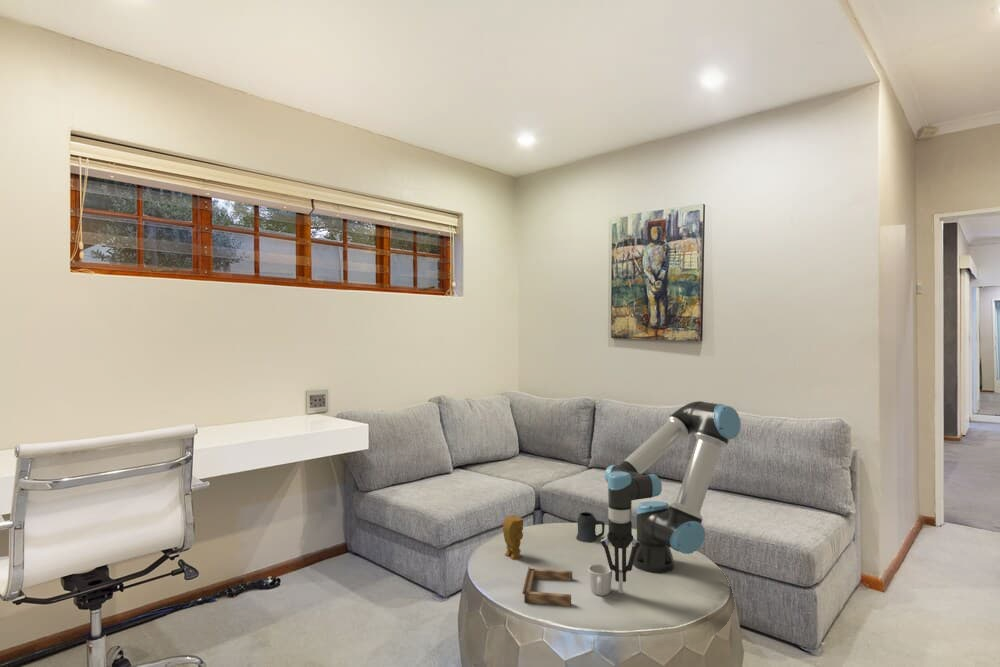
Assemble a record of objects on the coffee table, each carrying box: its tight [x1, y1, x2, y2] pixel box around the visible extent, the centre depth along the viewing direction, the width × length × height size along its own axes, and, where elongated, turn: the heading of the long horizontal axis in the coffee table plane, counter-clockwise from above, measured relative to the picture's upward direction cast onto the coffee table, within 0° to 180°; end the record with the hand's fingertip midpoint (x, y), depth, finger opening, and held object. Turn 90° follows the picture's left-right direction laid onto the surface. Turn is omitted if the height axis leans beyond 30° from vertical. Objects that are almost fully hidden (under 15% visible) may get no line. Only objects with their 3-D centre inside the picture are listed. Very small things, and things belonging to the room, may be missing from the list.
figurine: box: [502, 514, 524, 561], centre depth 213 cm, size 7×7×15 cm
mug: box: [575, 511, 605, 543], centre depth 229 cm, size 12×9×11 cm
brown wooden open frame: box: [522, 566, 573, 607], centre depth 185 cm, size 16×19×4 cm
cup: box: [587, 563, 613, 597], centre depth 182 cm, size 11×8×8 cm
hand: (620, 590), depth 181 cm, fingers closed
